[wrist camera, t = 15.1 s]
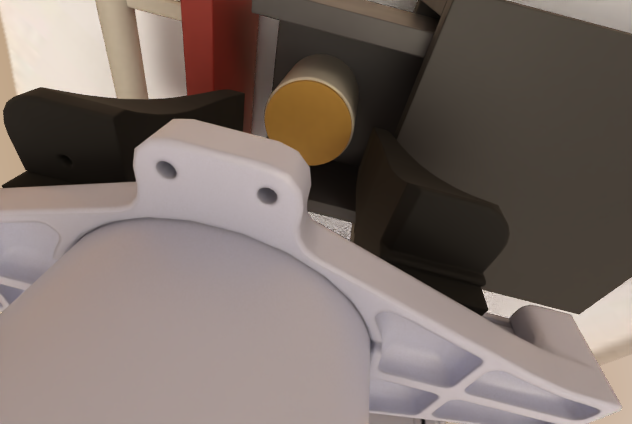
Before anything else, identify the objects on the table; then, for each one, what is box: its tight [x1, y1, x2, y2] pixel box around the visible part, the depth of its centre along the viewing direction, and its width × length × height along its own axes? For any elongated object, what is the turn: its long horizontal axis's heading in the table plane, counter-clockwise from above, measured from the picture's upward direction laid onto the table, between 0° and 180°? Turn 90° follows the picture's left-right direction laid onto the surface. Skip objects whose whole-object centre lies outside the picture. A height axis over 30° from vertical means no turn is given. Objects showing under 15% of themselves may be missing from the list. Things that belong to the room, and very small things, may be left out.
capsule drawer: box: [95, 0, 439, 223], centre depth 15 cm, size 16×10×6 cm, turn 78°
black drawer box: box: [350, 0, 632, 314], centre depth 15 cm, size 13×12×8 cm
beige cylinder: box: [264, 54, 359, 165], centre depth 15 cm, size 4×4×4 cm
